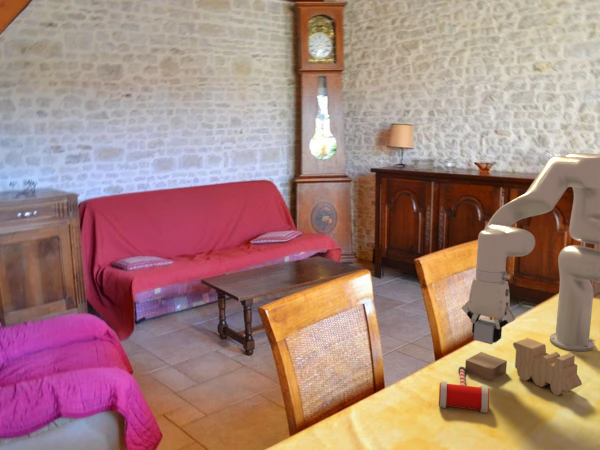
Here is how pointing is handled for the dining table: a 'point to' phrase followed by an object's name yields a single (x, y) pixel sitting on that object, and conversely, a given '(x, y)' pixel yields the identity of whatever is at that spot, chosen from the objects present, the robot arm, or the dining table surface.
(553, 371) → the toy train
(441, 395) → the toy hammer
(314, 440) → the dining table surface
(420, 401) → the dining table surface
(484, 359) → the walnut block
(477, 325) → the slate brick
